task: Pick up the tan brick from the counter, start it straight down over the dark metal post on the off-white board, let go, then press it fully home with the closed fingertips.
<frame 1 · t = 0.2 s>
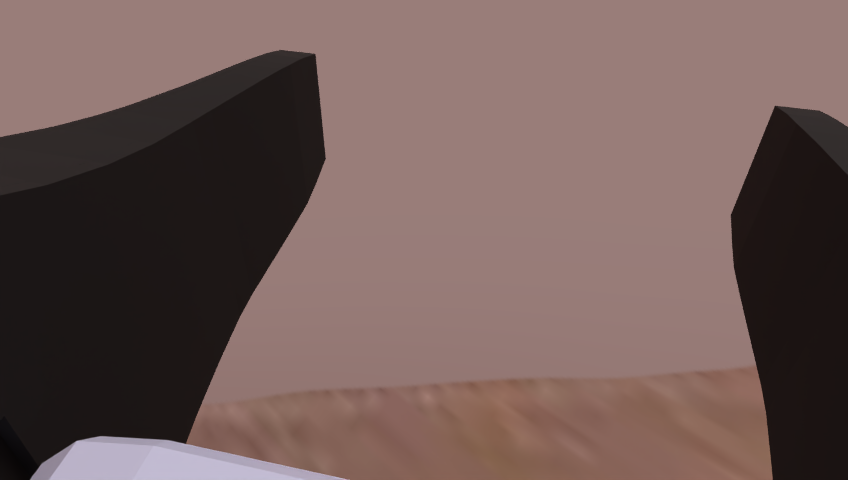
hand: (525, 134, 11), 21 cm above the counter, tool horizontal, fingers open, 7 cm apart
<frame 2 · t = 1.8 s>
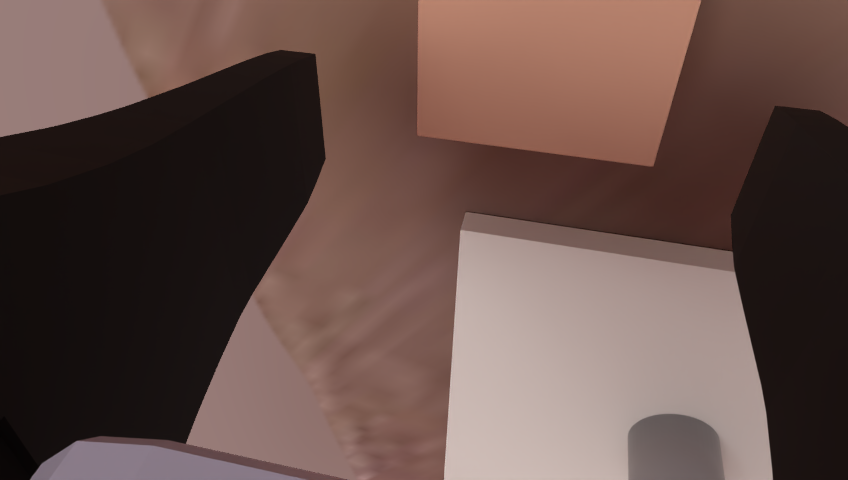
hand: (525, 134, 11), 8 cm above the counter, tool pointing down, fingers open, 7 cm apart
post board: (671, 419, 27), on the counter
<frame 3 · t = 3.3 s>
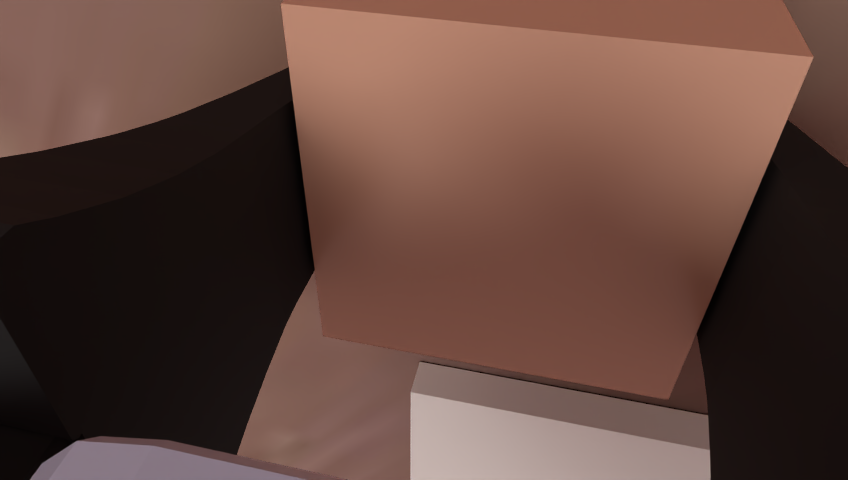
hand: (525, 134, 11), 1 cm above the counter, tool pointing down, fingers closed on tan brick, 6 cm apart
tan brick: (532, 94, 12), on the counter, touching gripper
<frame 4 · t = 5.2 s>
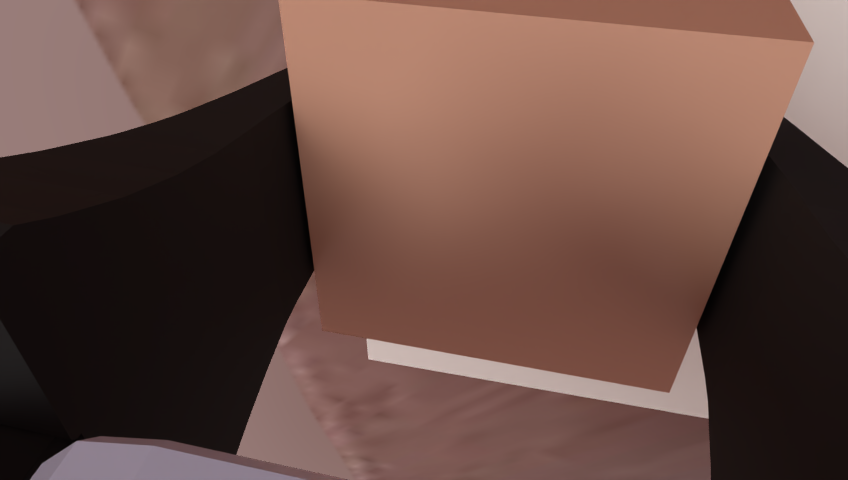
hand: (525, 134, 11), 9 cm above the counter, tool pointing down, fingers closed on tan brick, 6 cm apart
tan brick: (532, 87, 12), point 7 cm above the counter, touching gripper
post board: (622, 205, 22), on the counter
when the fingers open (6 cm above the counter, at t = 7.0 s): tan brick drops 2 cm, resting on post board.
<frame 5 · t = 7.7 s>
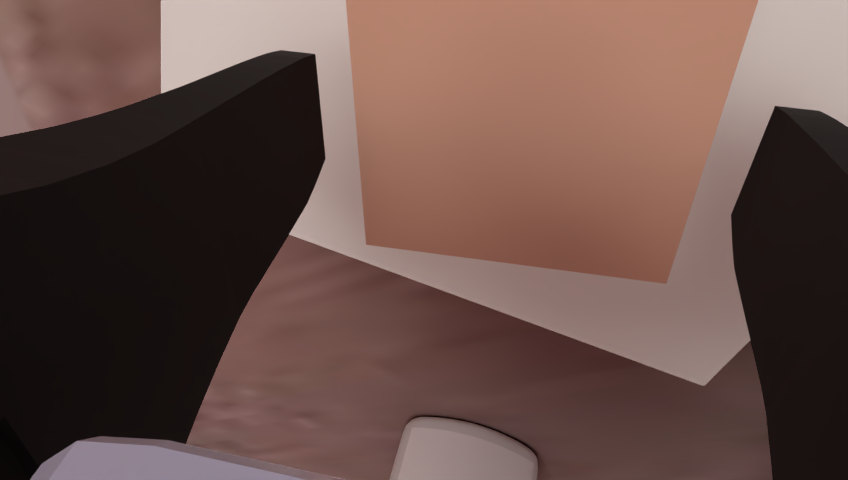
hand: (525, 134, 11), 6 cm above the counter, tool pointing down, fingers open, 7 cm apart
tan brick: (541, 33, 13), point 2 cm above the counter, touching post board
post board: (551, 4, 15), on the counter
eye dropper bottle: (470, 440, 27), on the counter
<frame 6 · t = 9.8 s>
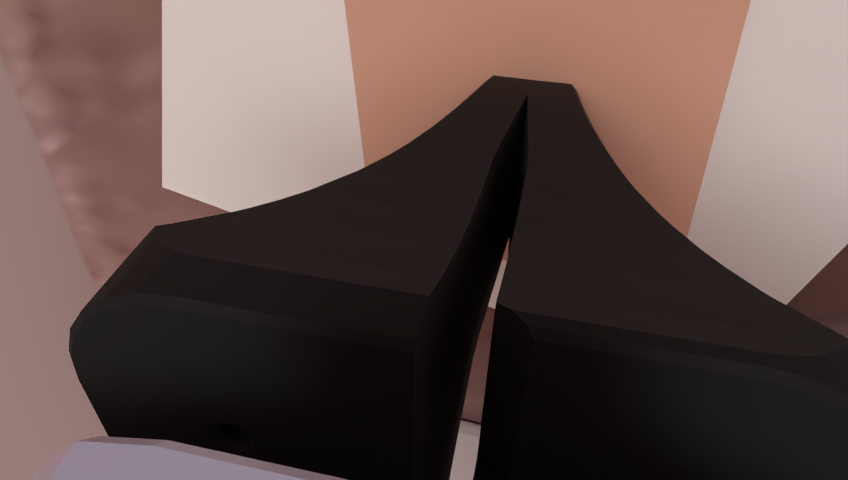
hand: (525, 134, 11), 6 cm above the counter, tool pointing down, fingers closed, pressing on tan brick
tan brick: (545, 33, 13), point 2 cm above the counter, touching gripper, post board
post board: (552, 4, 15), on the counter
eye dropper bottle: (471, 439, 27), on the counter
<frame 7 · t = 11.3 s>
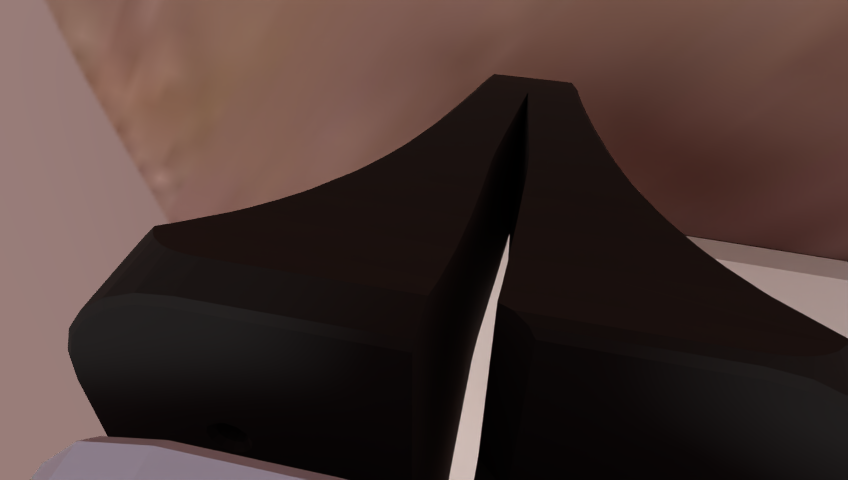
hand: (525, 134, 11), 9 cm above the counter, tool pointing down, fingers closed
post board: (578, 385, 29), on the counter
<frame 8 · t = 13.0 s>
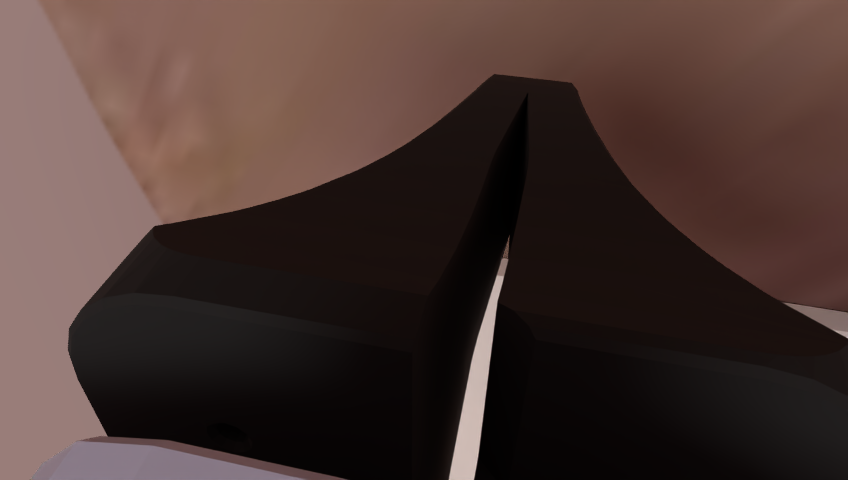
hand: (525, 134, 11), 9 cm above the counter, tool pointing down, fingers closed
post board: (583, 419, 30), on the counter
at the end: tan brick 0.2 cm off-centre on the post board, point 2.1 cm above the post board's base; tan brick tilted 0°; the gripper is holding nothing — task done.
